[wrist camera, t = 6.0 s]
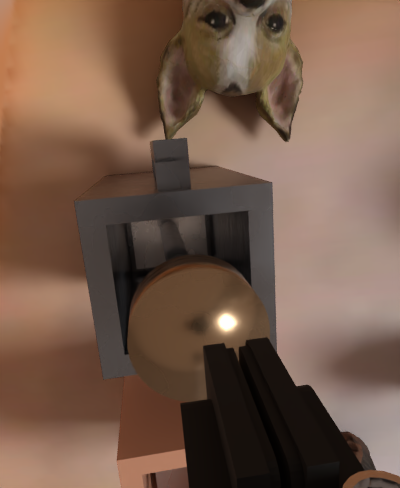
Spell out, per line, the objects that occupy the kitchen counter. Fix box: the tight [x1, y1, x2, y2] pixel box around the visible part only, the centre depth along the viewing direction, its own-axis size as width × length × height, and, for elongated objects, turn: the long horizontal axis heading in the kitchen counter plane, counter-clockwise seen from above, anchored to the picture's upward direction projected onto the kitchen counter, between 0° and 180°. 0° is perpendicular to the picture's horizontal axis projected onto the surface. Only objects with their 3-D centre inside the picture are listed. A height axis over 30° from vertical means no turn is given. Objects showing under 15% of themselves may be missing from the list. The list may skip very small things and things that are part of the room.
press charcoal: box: [74, 138, 277, 380], centre depth 25 cm, size 11×9×14 cm
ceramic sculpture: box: [157, 0, 303, 142], centre depth 25 cm, size 11×9×15 cm
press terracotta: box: [117, 375, 187, 488], centre depth 29 cm, size 11×9×14 cm
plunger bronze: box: [127, 215, 270, 402], centre depth 22 cm, size 6×6×18 cm
